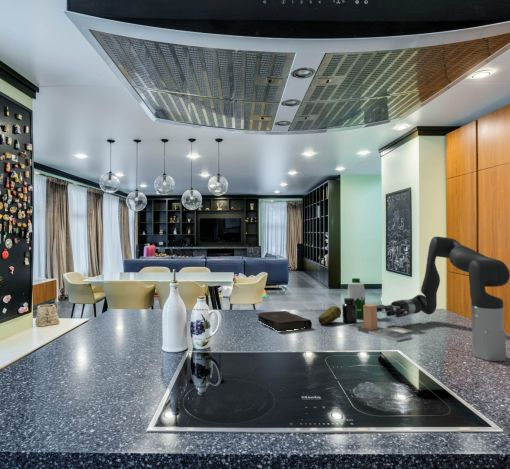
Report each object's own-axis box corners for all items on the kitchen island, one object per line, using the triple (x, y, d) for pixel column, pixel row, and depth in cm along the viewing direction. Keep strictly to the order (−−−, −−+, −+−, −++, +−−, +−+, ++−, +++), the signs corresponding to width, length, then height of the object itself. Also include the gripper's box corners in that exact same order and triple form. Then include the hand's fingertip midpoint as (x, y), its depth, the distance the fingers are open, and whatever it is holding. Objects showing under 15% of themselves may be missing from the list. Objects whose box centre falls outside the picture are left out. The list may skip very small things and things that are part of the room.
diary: (286, 319, 188) (286, 310, 188) (312, 329, 165) (312, 319, 165) (254, 322, 180) (254, 312, 180) (276, 334, 157) (276, 322, 158)
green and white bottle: (365, 315, 191) (364, 278, 192) (365, 319, 182) (364, 280, 183) (348, 314, 194) (347, 278, 194) (347, 318, 185) (347, 279, 185)
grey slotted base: (411, 340, 143) (411, 334, 143) (396, 343, 139) (396, 338, 139) (362, 327, 166) (362, 322, 166) (348, 329, 161) (348, 325, 161)
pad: (414, 332, 154) (414, 330, 154) (400, 335, 150) (400, 333, 150) (396, 328, 162) (396, 326, 162) (383, 331, 158) (383, 329, 158)
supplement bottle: (355, 321, 178) (355, 297, 178) (358, 324, 171) (357, 299, 171) (341, 321, 178) (341, 297, 179) (343, 324, 172) (343, 299, 172)
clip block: (377, 332, 155) (376, 305, 155) (371, 334, 153) (370, 306, 153) (370, 331, 158) (369, 304, 159) (363, 332, 156) (363, 305, 157)
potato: (313, 322, 177) (313, 306, 177) (337, 320, 180) (337, 304, 180) (321, 326, 169) (320, 309, 169) (345, 324, 172) (345, 307, 172)
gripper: (390, 298, 173) (366, 301, 165) (416, 302, 161) (392, 306, 153) (390, 313, 173) (367, 317, 165) (416, 318, 161) (392, 323, 153)
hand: (379, 312), depth 159 cm, fingers open, 8 cm apart
